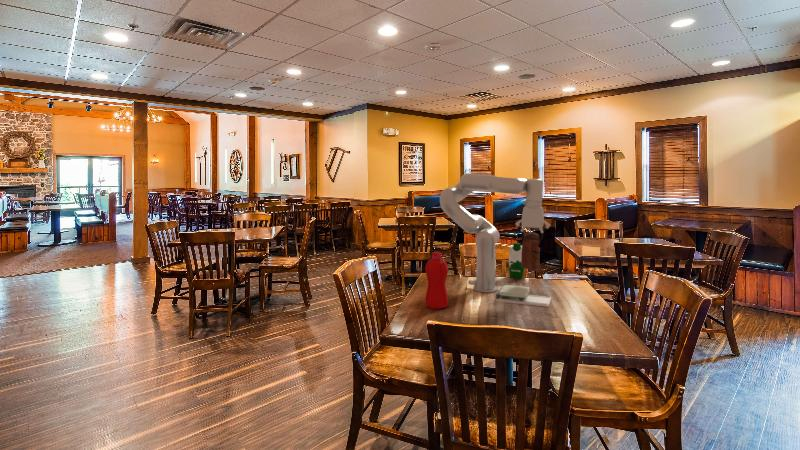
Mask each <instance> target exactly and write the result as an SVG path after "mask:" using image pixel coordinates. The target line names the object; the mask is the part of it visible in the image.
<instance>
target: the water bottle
mask: <svg viewBox="0 0 800 450" xmlns="http://www.w3.org/2000/svg"><path fill="white" fill-rule="evenodd" d="M442 254H443V253H442V252H440V251H434V252H431V258H430V259H429V260H427V262H426V264H425V267H424V268H425V269H424V270H425V275H426V279H427V288H426V292H425V299H424V301H425V302H424V303H425V306H426V307H428V308H431V310H439V309H446V308H447V307H448V306H449V295H448V292H447V287H446V285H447V284H446V283H447V276H448V273H449V267H448V263H447V261H445V260H444V259H443V258H442Z"/></svg>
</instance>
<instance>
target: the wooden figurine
mask: <svg viewBox="0 0 800 450" xmlns="http://www.w3.org/2000/svg"><path fill="white" fill-rule="evenodd" d="M539 239H540V234H538V233H536V232H533V231H531V232H527V233H526V234H525V236H524V240H522V244H521V246H522V261H521V266H522V267H524V269H527V270H530V271H532V272H536V271H540V270H539V269H540V254H541V248H540V247H539V245H540V244H541V241H539Z"/></svg>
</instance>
